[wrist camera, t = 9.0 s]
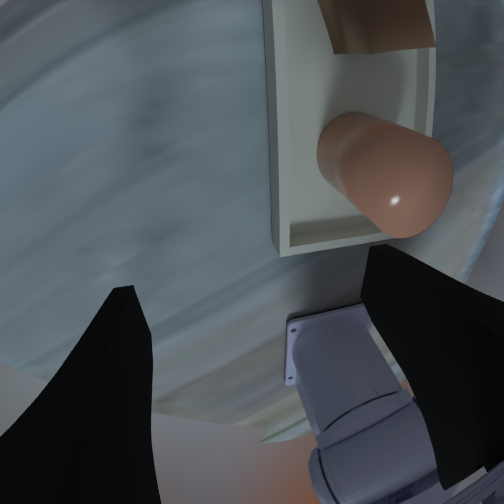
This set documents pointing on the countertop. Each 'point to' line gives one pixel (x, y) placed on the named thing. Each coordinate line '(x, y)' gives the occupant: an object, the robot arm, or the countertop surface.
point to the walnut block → (377, 25)
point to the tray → (329, 119)
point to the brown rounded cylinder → (386, 171)
